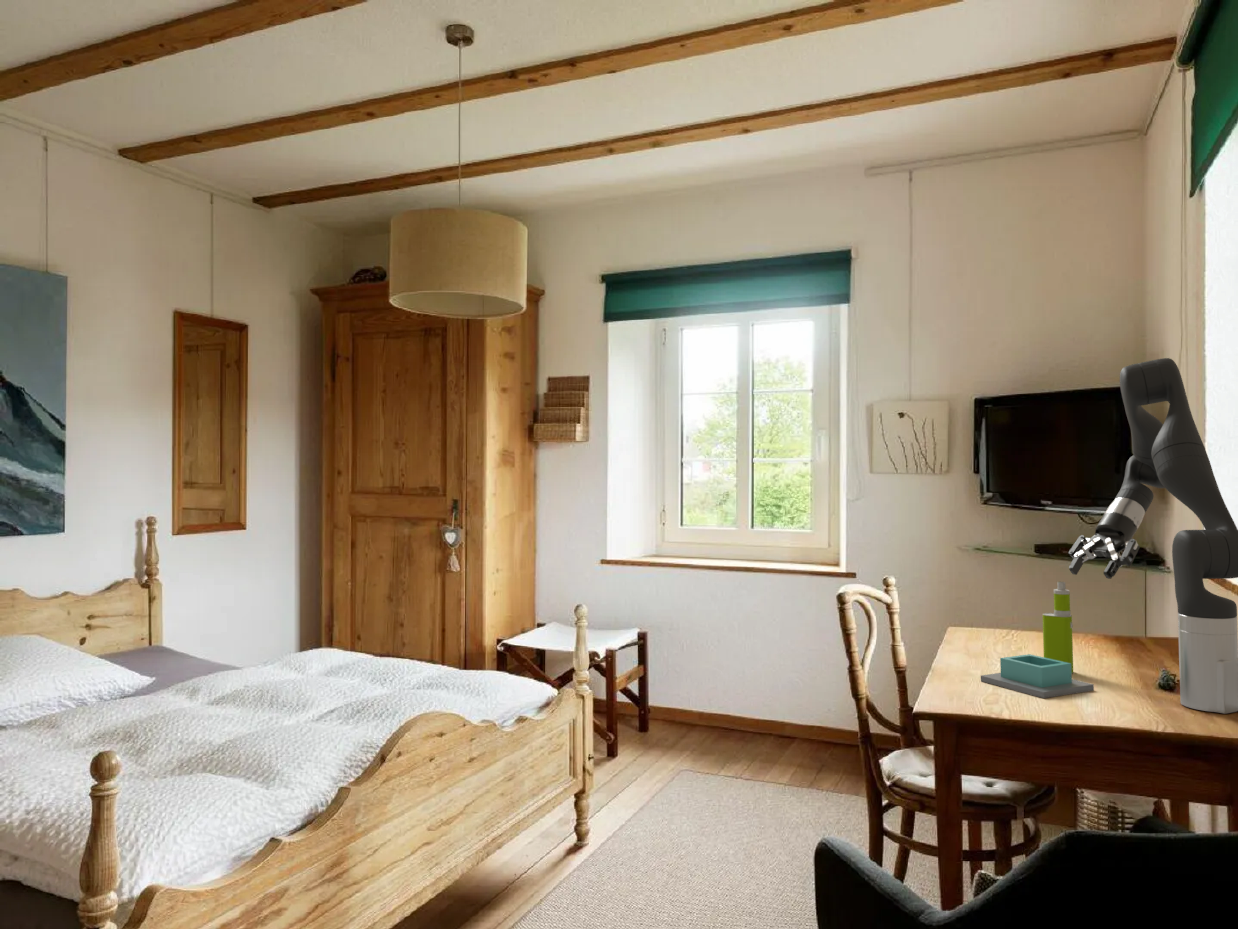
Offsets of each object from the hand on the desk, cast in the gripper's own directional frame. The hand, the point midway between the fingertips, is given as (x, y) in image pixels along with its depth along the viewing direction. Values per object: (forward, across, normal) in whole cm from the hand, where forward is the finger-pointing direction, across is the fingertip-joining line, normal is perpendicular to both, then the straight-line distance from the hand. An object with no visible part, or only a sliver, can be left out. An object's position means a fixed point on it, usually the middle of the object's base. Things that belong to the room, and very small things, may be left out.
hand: (1089, 574), depth 195 cm
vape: (+23, 0, +7) cm, 24 cm away
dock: (+33, +6, -4) cm, 34 cm away
